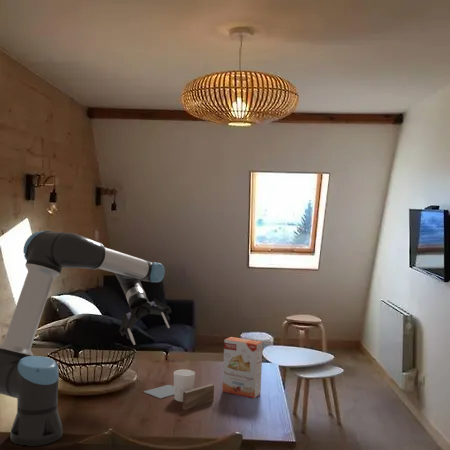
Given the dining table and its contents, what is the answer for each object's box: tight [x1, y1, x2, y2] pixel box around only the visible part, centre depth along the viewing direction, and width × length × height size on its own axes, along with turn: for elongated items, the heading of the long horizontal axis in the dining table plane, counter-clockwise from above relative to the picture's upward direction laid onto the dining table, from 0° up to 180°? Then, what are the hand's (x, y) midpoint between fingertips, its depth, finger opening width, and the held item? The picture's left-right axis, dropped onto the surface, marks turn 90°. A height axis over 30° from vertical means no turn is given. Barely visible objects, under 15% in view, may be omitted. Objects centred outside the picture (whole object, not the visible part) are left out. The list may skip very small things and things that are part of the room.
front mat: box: [143, 384, 174, 400], centre depth 220 cm, size 10×13×1 cm
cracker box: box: [221, 336, 263, 399], centre depth 221 cm, size 14×6×21 cm, turn 62°
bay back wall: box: [182, 383, 215, 411], centre depth 207 cm, size 2×14×6 cm, turn 137°
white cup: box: [173, 368, 196, 403], centre depth 212 cm, size 8×8×10 cm
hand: (150, 333), depth 206 cm, fingers open, 13 cm apart
